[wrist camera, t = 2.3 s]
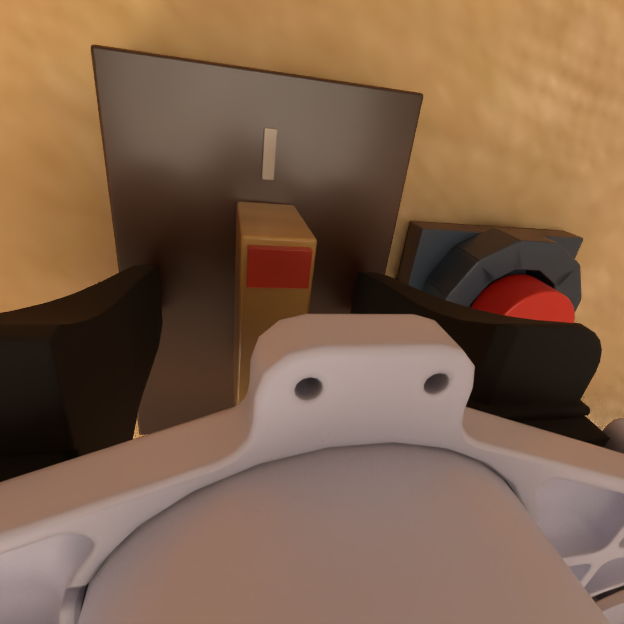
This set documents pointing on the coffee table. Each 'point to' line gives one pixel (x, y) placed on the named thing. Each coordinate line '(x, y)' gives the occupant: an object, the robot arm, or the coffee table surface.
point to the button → (525, 299)
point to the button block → (487, 259)
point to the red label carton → (268, 277)
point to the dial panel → (240, 195)
